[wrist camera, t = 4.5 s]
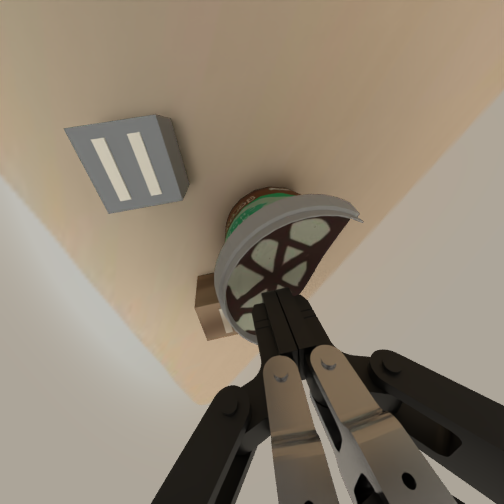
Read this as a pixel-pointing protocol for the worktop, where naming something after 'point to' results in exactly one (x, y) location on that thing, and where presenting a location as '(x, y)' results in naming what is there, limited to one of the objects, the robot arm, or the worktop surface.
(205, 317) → the walnut block
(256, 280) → the food container
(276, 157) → the worktop surface
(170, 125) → the slate block
